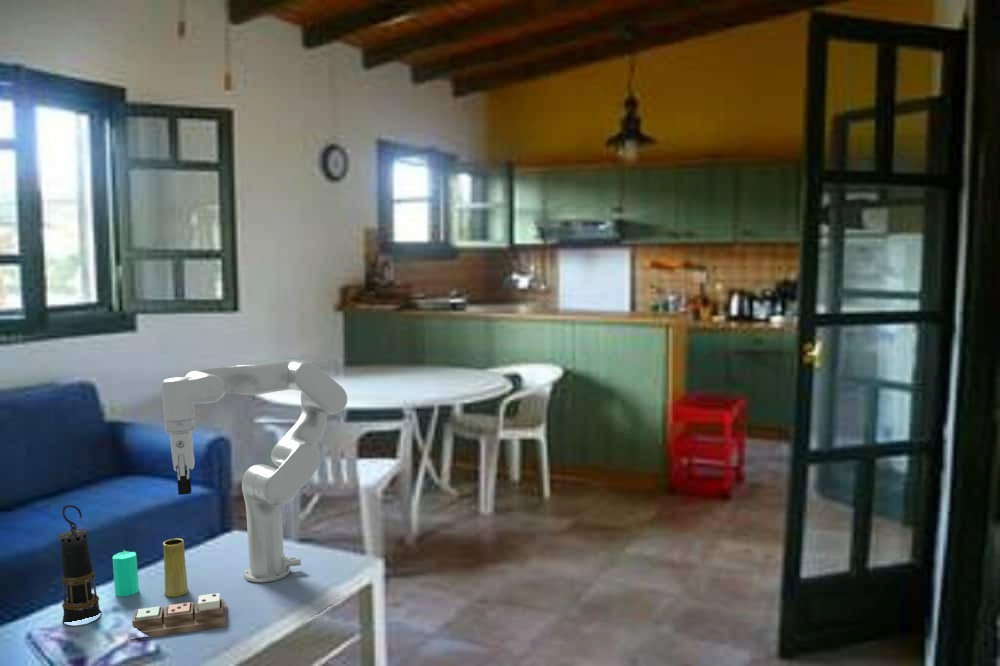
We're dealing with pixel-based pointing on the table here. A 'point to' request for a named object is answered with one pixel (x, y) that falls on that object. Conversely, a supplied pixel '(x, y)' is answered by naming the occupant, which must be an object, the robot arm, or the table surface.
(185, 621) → the tile board
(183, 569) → the vase
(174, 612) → the tile three dots
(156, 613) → the tile one dot
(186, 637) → the table surface
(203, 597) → the tile two dots
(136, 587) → the candle
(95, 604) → the lantern
